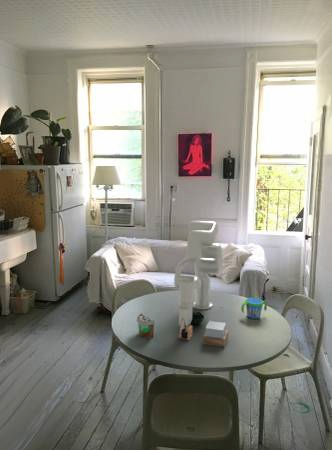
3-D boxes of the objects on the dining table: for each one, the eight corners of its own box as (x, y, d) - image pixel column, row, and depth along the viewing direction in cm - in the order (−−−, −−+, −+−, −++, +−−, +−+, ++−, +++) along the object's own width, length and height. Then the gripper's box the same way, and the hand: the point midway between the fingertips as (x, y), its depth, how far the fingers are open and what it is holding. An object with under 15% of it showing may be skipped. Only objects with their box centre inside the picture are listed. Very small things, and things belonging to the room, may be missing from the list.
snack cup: (262, 312, 238) (263, 296, 236) (269, 319, 228) (270, 303, 226) (238, 313, 236) (238, 298, 234) (244, 321, 226) (244, 304, 224)
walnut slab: (207, 335, 210) (208, 327, 209) (228, 338, 206) (228, 330, 205) (203, 344, 199) (203, 336, 198) (224, 347, 196) (224, 339, 195)
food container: (132, 332, 211) (132, 315, 209) (142, 329, 215) (141, 312, 213) (145, 341, 202) (144, 323, 200) (154, 338, 205) (154, 320, 203)
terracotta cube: (182, 333, 210) (182, 324, 209) (192, 335, 208) (192, 325, 207) (179, 338, 205) (179, 328, 204) (189, 340, 203) (189, 330, 202)
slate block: (209, 328, 207) (209, 320, 206) (225, 331, 204) (226, 323, 203) (205, 336, 199) (205, 327, 198) (222, 338, 196) (223, 330, 195)
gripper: (184, 297, 212) (183, 327, 216) (174, 308, 196) (174, 342, 200) (197, 298, 210) (197, 329, 213) (188, 310, 194) (188, 344, 197)
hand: (186, 335), depth 206 cm, fingers closed on terracotta cube, 5 cm apart
